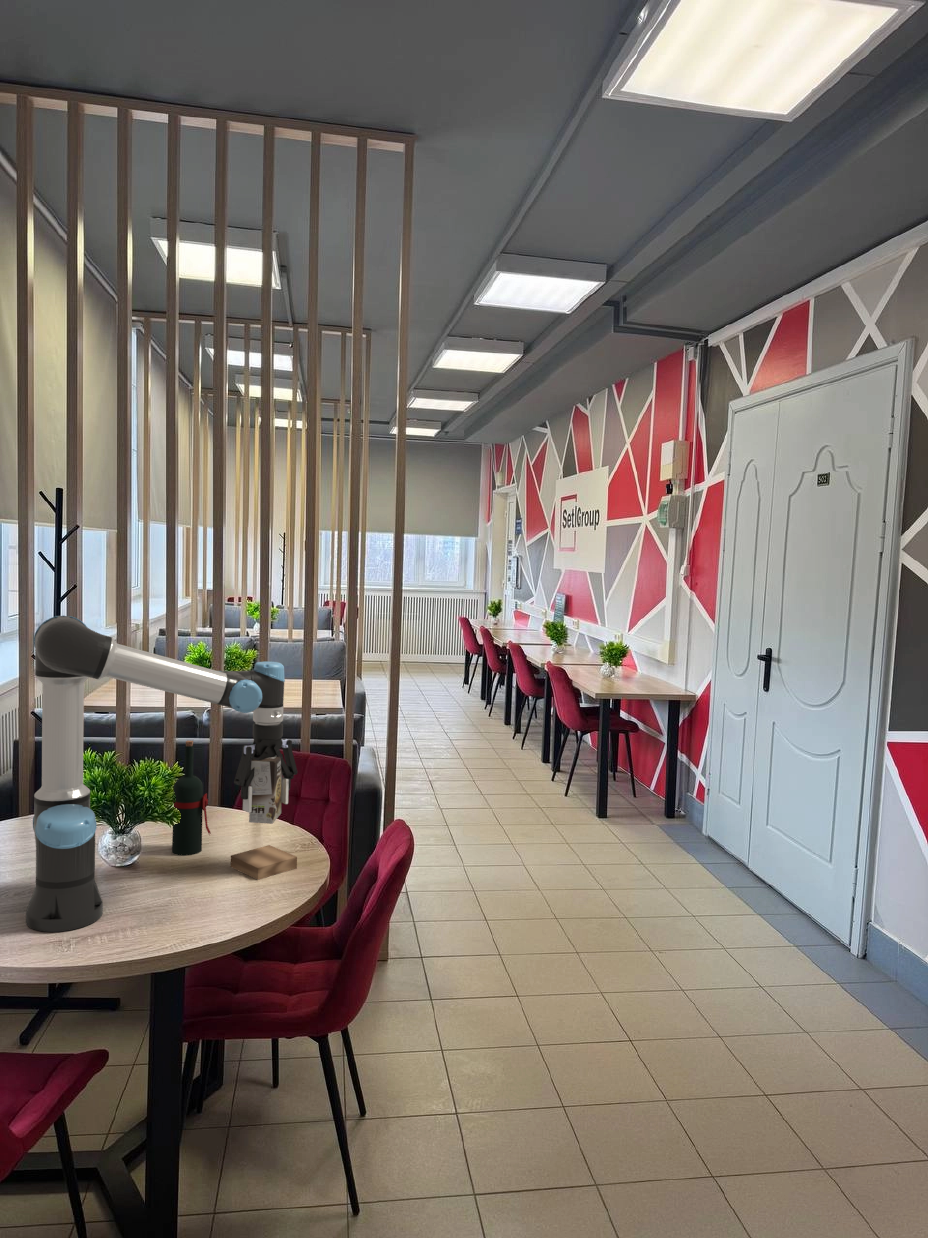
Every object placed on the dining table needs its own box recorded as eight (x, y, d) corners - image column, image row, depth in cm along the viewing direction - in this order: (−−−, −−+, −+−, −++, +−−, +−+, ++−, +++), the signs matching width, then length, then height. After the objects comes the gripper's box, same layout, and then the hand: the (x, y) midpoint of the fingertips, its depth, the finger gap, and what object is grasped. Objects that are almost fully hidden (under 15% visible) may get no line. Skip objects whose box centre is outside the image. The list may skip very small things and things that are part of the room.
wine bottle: (207, 856, 223) (209, 745, 221) (167, 855, 223) (170, 744, 221) (213, 846, 231) (216, 738, 229) (175, 845, 230) (178, 737, 228)
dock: (257, 880, 209) (258, 868, 209) (230, 866, 217) (230, 855, 216) (296, 868, 218) (297, 856, 218) (268, 856, 226) (269, 845, 225)
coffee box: (273, 824, 212) (275, 761, 211) (248, 823, 212) (250, 760, 211) (282, 813, 221) (283, 753, 220) (257, 812, 221) (259, 752, 220)
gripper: (237, 730, 203) (235, 819, 205) (313, 719, 221) (310, 801, 222) (220, 725, 208) (218, 812, 210) (295, 715, 226) (292, 795, 227)
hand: (265, 807), depth 216 cm, fingers closed on coffee box, 11 cm apart
